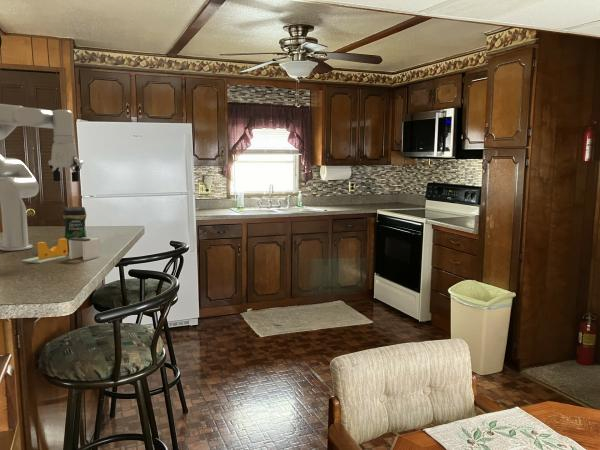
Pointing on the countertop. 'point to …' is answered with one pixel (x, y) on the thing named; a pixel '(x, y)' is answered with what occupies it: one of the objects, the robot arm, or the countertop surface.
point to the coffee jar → (74, 223)
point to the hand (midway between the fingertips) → (66, 181)
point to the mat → (36, 260)
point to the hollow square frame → (84, 248)
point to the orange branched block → (52, 249)
